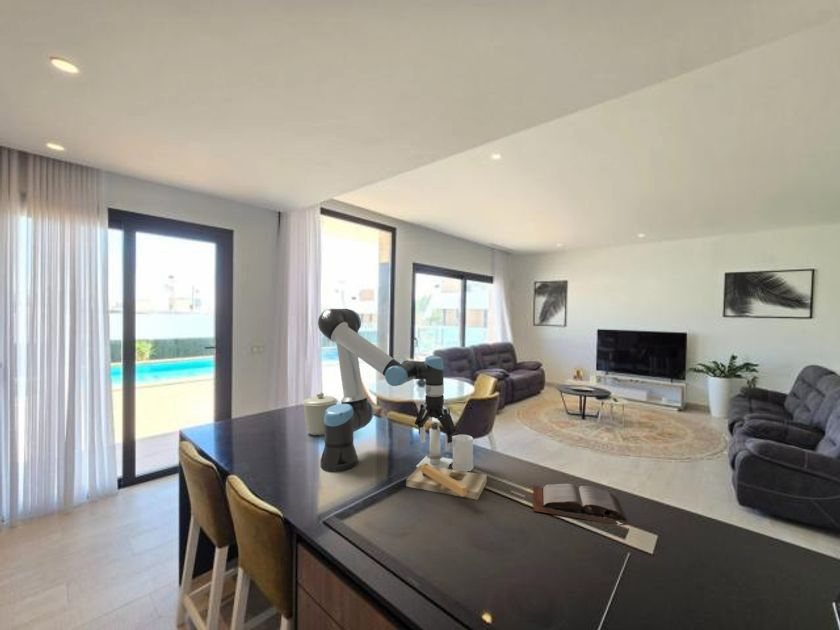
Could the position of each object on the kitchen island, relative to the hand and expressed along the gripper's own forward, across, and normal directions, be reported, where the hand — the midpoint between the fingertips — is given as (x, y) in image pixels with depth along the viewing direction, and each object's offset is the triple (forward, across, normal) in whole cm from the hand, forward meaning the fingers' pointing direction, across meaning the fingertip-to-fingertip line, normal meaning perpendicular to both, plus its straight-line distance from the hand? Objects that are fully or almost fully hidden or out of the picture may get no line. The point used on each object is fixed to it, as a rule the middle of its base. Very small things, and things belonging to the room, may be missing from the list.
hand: (435, 446), depth 151 cm
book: (+8, +55, +7) cm, 56 cm away
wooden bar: (+3, +18, -17) cm, 25 cm away
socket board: (+7, +14, -11) cm, 19 cm away
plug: (+7, 0, 0) cm, 7 cm away
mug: (+8, +11, +3) cm, 13 cm away
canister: (+8, -71, -8) cm, 72 cm away
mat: (+7, 0, 0) cm, 7 cm away
